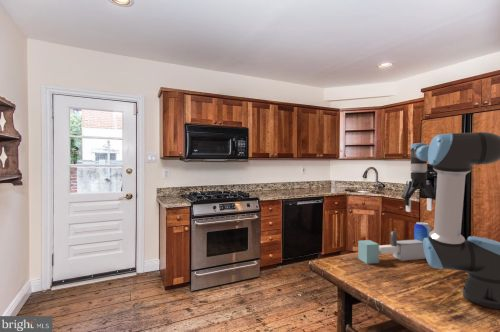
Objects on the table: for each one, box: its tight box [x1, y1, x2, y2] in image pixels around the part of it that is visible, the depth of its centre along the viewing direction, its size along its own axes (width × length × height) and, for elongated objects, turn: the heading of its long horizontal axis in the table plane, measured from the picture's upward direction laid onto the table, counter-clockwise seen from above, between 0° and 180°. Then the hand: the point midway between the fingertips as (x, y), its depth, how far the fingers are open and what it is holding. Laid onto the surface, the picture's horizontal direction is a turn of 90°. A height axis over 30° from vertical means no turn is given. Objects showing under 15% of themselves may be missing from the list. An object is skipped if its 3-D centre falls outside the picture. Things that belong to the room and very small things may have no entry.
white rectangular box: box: [392, 239, 426, 261], centre depth 152 cm, size 7×15×9 cm, turn 100°
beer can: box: [413, 221, 432, 242], centre depth 166 cm, size 8×8×16 cm
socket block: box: [357, 239, 380, 265], centre depth 148 cm, size 8×7×10 cm
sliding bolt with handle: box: [379, 230, 400, 255], centre depth 151 cm, size 4×24×11 cm, turn 100°
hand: (419, 211), depth 147 cm, fingers open, 13 cm apart
